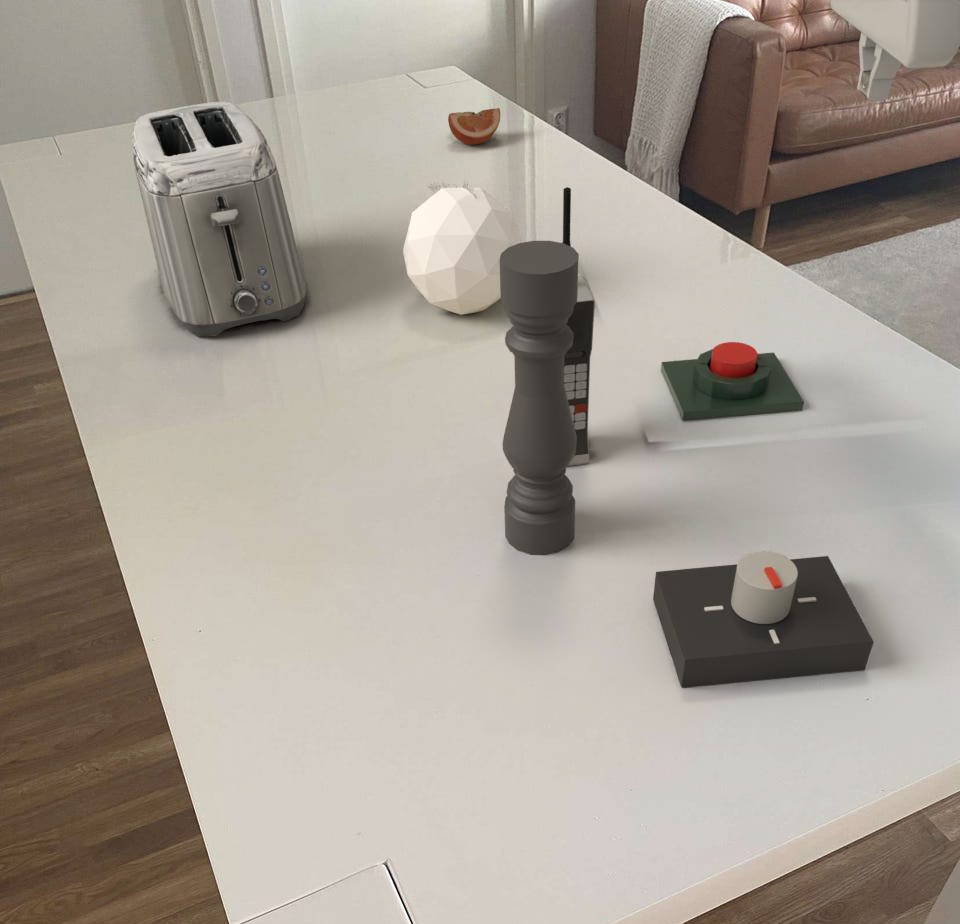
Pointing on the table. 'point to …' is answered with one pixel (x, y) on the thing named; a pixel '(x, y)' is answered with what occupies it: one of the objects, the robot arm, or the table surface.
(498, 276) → the geodesic sphere
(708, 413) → the housing
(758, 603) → the timer knob
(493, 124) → the fruit slice
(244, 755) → the table surface
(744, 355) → the button
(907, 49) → the robot arm
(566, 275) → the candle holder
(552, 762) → the table surface
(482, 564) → the table surface
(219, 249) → the toaster
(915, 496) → the table surface
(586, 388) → the vintage mobile phone
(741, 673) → the timer panel
